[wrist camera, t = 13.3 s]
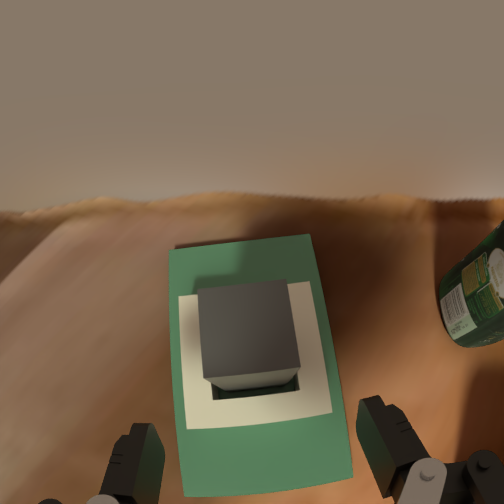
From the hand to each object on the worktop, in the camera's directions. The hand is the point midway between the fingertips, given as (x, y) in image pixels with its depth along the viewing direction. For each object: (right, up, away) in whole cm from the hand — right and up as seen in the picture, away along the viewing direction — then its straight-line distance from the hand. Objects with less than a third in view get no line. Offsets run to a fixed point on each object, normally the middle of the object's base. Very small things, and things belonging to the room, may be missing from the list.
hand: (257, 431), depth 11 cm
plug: (0, -1, +11) cm, 11 cm away
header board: (0, -2, +12) cm, 12 cm away
